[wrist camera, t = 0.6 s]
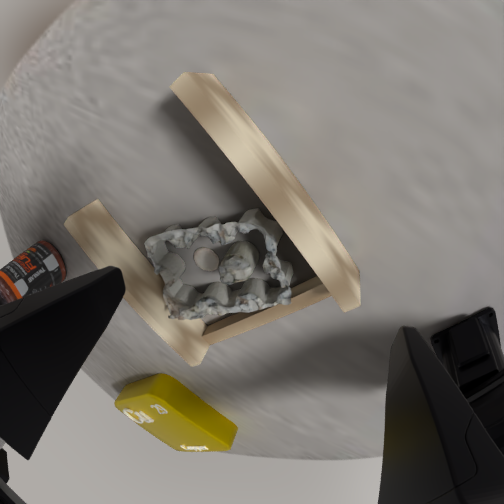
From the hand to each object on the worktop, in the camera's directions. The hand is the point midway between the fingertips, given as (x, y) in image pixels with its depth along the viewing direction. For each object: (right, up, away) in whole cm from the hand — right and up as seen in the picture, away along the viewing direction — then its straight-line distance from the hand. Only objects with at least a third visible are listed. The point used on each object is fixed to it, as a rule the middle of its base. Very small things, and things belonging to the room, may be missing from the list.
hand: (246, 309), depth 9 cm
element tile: (-11, -22, +33) cm, 41 cm away
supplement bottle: (-24, +1, +23) cm, 33 cm away
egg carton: (-2, +2, +15) cm, 16 cm away
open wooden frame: (-3, +3, +14) cm, 15 cm away
